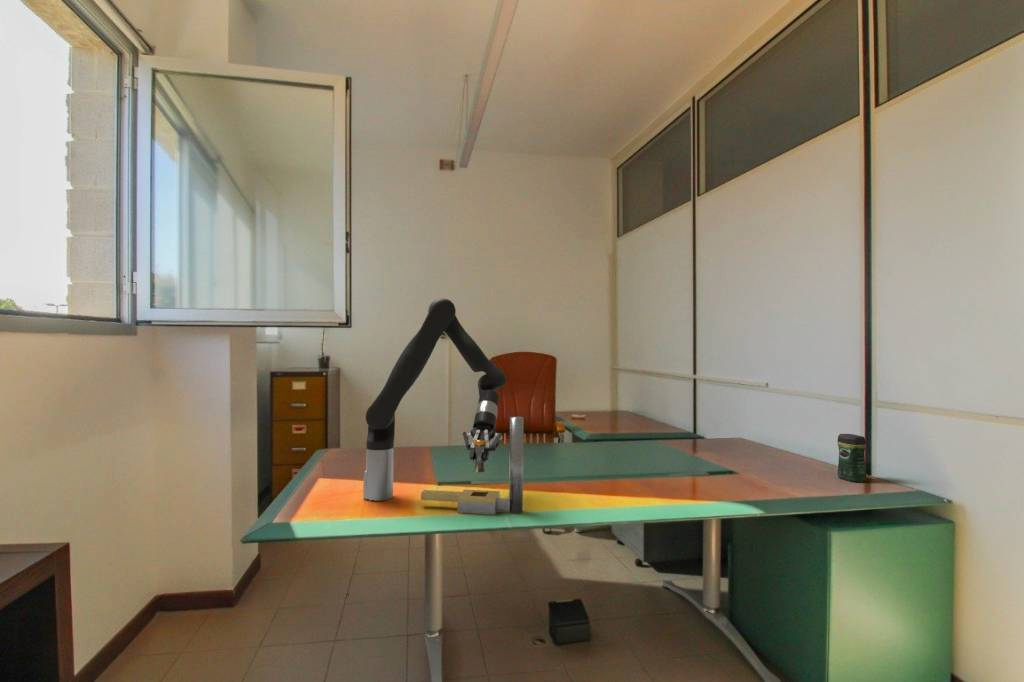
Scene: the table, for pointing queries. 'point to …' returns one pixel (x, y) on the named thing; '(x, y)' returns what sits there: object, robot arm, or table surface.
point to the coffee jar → (851, 457)
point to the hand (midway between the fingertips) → (478, 460)
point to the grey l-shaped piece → (491, 500)
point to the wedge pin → (479, 455)
